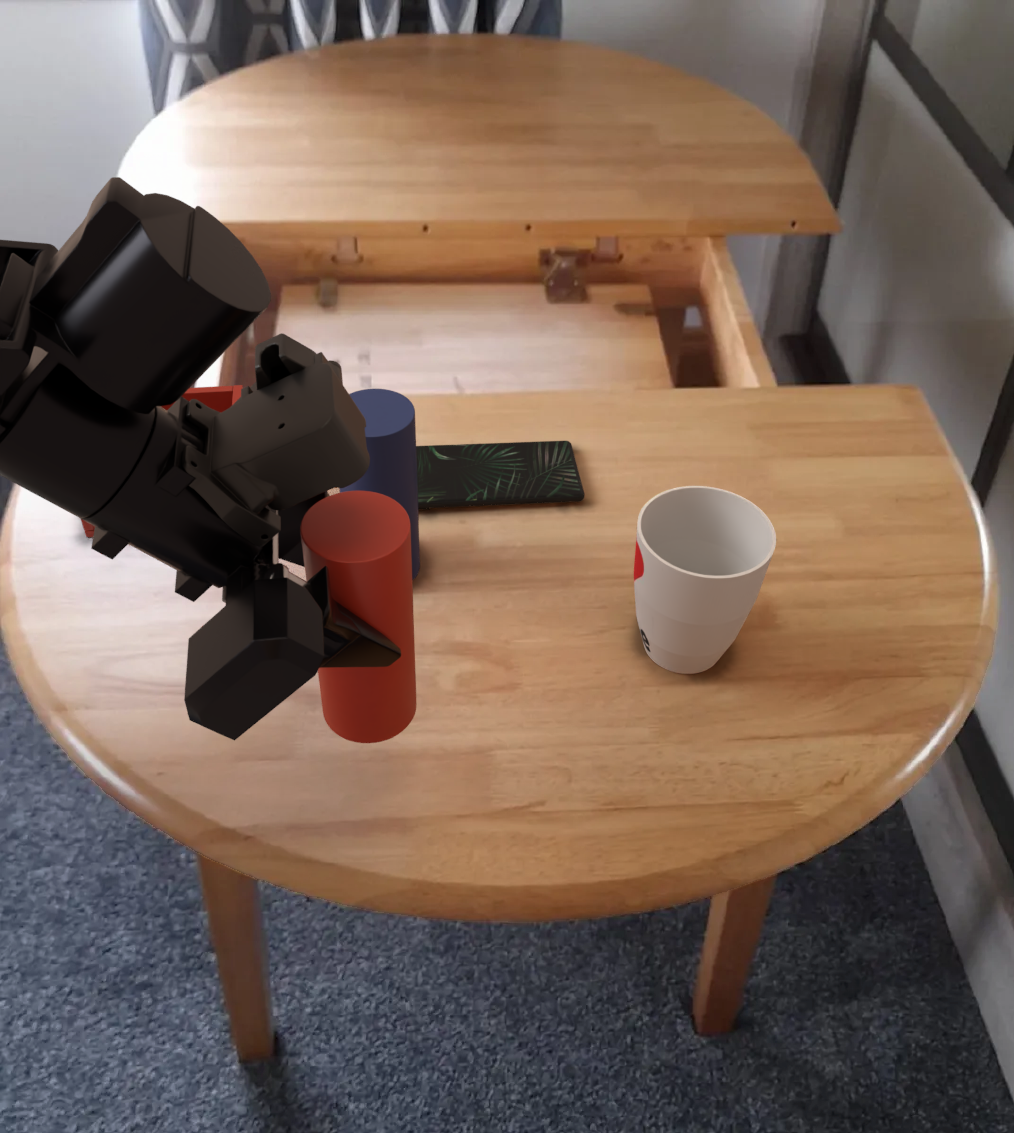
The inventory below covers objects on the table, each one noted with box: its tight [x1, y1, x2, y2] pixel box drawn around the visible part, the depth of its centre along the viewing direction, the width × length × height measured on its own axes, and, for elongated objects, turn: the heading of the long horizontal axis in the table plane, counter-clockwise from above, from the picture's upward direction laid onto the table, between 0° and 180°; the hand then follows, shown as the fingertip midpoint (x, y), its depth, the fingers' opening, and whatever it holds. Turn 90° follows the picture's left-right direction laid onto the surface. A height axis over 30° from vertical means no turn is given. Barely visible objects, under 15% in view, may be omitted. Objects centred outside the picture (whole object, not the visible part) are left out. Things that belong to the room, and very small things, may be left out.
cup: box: [633, 485, 777, 675], centre depth 69 cm, size 8×8×10 cm
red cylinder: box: [300, 491, 418, 744], centre depth 55 cm, size 5×5×13 cm
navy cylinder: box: [338, 388, 421, 582], centre depth 72 cm, size 5×5×13 cm
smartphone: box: [416, 440, 585, 511], centre depth 83 cm, size 7×1×15 cm
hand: (391, 619), depth 56 cm, fingers closed on red cylinder, 5 cm apart
